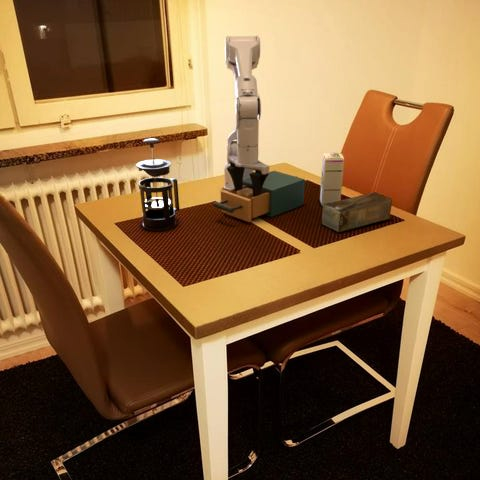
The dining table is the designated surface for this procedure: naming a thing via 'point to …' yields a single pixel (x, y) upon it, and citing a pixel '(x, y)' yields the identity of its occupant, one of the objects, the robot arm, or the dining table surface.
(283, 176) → the cabinet
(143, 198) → the french press
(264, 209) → the drawer
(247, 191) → the block
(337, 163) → the syrup box
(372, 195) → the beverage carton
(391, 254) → the dining table surface
